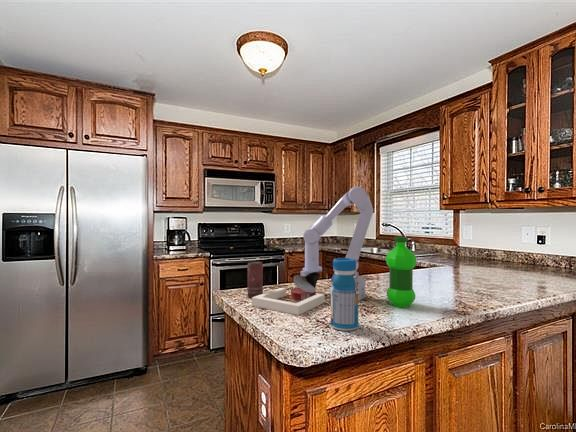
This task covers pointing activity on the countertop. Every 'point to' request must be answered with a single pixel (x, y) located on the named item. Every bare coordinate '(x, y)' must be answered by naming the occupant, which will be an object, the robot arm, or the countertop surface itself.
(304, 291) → the canned food
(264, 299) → the notched board
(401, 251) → the plastic bottle
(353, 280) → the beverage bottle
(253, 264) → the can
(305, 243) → the robot arm
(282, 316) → the countertop surface
